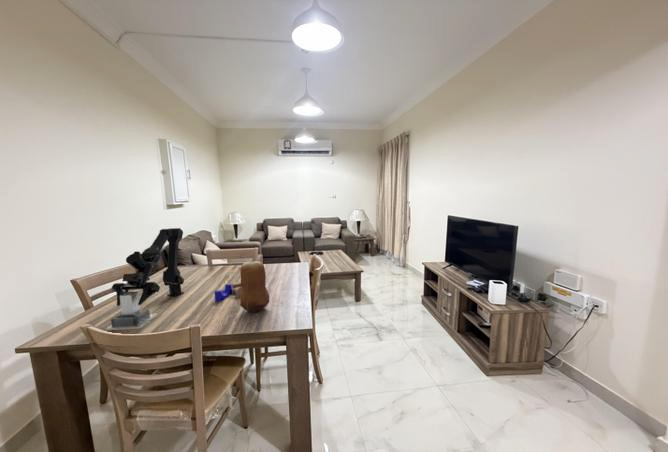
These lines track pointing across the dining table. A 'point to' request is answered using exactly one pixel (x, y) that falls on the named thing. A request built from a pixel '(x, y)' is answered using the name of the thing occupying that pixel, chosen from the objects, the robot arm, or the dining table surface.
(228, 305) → the dining table surface
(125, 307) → the white upright block
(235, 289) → the wooden block set
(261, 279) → the butternut squash
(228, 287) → the cable clip
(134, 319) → the keeper bracket
